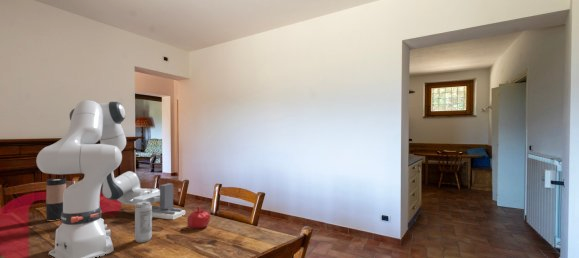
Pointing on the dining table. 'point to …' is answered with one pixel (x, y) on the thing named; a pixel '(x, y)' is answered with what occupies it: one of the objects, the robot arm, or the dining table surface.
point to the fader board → (167, 213)
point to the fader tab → (166, 197)
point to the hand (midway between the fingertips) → (164, 199)
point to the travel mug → (55, 198)
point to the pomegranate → (198, 219)
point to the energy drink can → (143, 221)
